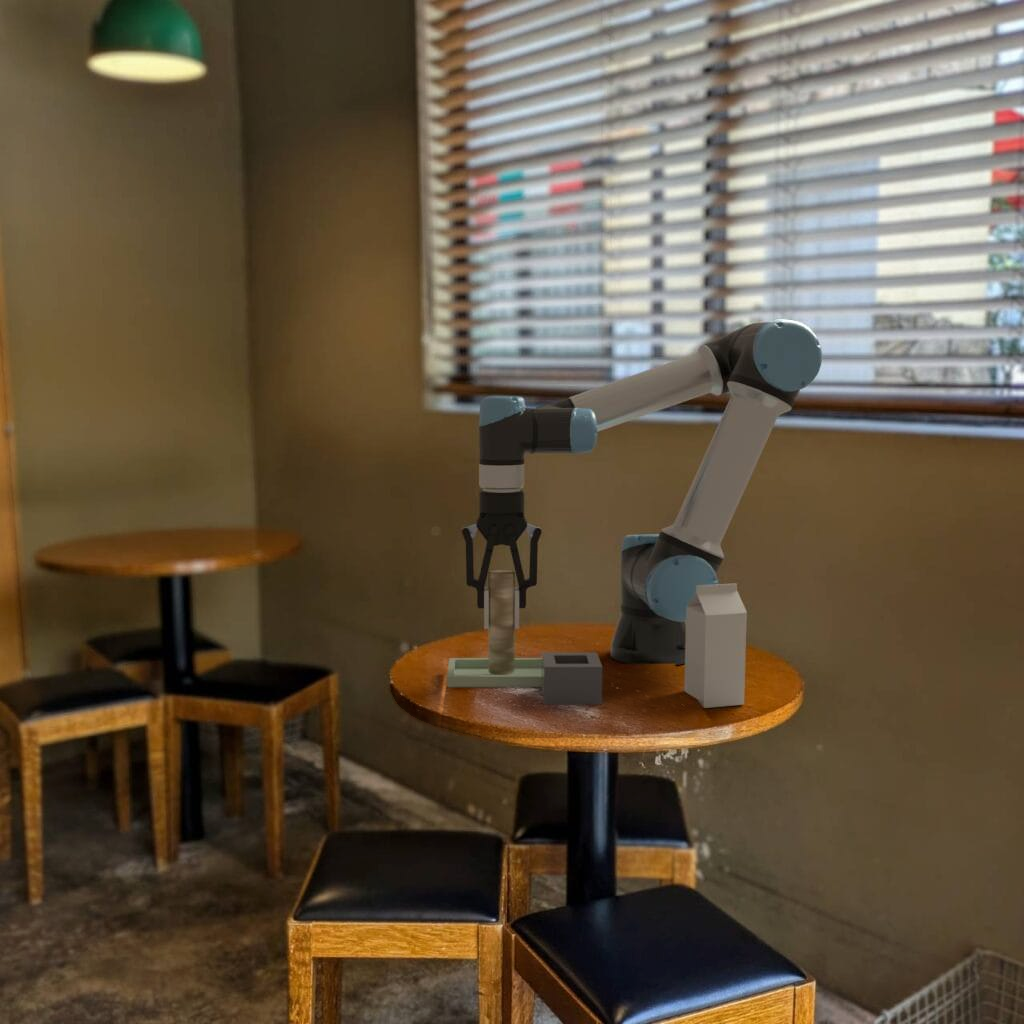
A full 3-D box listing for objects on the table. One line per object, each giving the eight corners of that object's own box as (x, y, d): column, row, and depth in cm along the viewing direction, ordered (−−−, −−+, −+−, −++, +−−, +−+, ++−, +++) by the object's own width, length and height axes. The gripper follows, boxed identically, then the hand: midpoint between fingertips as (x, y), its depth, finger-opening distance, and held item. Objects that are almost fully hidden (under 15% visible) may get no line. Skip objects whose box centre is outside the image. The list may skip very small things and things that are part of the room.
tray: (552, 672, 193) (552, 657, 193) (556, 692, 181) (556, 676, 181) (449, 673, 193) (449, 658, 192) (446, 692, 181) (446, 676, 180)
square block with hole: (596, 694, 180) (596, 652, 179) (601, 710, 171) (602, 666, 170) (541, 694, 180) (541, 652, 179) (544, 710, 171) (544, 667, 170)
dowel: (514, 667, 189) (514, 570, 187) (514, 674, 184) (515, 574, 182) (488, 667, 189) (488, 570, 187) (488, 674, 184) (488, 574, 182)
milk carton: (744, 705, 174) (747, 587, 172) (703, 709, 172) (706, 590, 170) (723, 693, 181) (726, 579, 179) (683, 696, 179) (686, 581, 177)
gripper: (552, 487, 187) (552, 622, 190) (450, 487, 186) (450, 622, 189) (555, 491, 179) (554, 632, 182) (448, 491, 179) (449, 632, 182)
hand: (501, 626), depth 186 cm, fingers closed on dowel, 4 cm apart
